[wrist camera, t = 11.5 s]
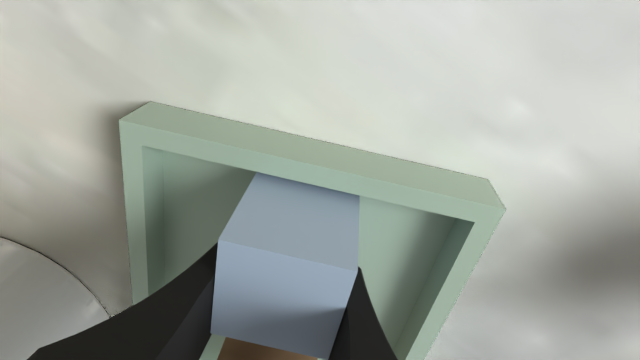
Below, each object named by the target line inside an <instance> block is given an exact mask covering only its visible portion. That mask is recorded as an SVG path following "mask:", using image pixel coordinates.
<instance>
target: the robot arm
mask: <svg viewBox="0 0 640 360" xmlns="http://www.w3.org/2000/svg"><path fill="white" fill-rule="evenodd" d="M217 248H218V242H217V243H216V244H215V245H214V246H213V247H211V248H210V249H209V250H208V251H207V252H206V253H205V254H204V255H203V256H202V257H200V258H199V259H198V260H197V261H196V262H194V263H193V264H192V265H191V266H190V267H188V268H187V269H186V270H185V271H184V272H182V273H181V274H180V275H178V276H177V277H176V278H174V279H173V280H172V281H170V282H169V283H168V284H166V285H165V286H163V287H162V288H160V289H159V290H157V291H156V292H154V293H153V294H151V295H150V296H148V297H147V298H145V299H143V300H142V301H140V302H138V303H137V304H135V305H133V306H131V307H130V308H128V309H126V310H124V311H123V312H121V313H119V314H117V315H115V316H113V317H111V318H109V319H107V320H105V321H103V322H101V323H99V324H97V325H94V326H92V327H90V328H88V329H86V330H84V331H82V332H79V333H77V334H75V335H72V336H69V337H67V338H64V339H62V340H59V341H57V342H54V343H51V344H49V345H46V346H43V347H41V348H38V349H37V350H36V351H35V352H34V353H33V354H32V355H31V356H30V357H29V358H28V359H27V360H199V359H200V357H201V355H202V353H203V351H204V349H205V347H206V345H207V343H208V341H209V339H210V337H211V335H212V334H211V333H210V331H211V319H212V308H213V296H214V284H215V272H216V260H217ZM328 360H398V359H397V357H396V355H395V353H394V352H393V350H392V348H391V346H390V344H389V342H388V340H387V338H386V336H385V334H384V331H383V329H382V327H381V325H380V323H379V320H378V318H377V315H376V313H375V310H374V308H373V305H372V302H371V300H370V297H369V294H368V291H367V288H366V284H365V281H364V277H363V273H362V270H361V268H360V267H358V272H357V275H356V278H355V281H354V284H353V287H352V290H351V293H350V296H349V299H348V302H347V305H346V308H345V311H344V314H343V317H342V320H341V323H340V326H339V329H338V332H337V335H336V338H335V341H334V344H333V347H332V350H331V353H330V356H329V359H328Z"/></svg>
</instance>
